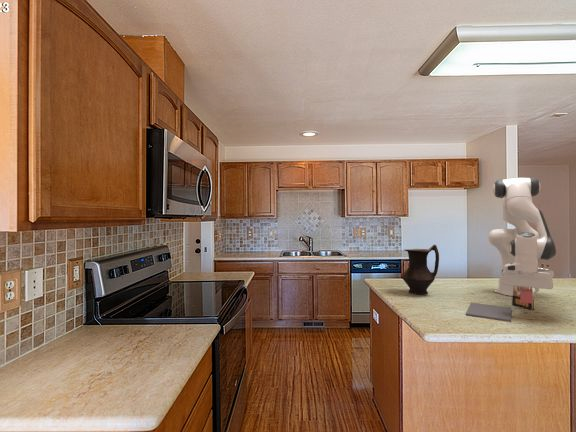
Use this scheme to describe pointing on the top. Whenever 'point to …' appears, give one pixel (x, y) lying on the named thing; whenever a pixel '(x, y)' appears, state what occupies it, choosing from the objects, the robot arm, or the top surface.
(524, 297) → the red rectangular block
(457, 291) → the top surface
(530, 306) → the ammunition clip
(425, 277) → the jug
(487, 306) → the mat
